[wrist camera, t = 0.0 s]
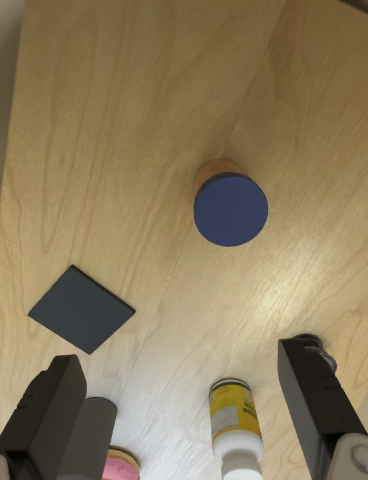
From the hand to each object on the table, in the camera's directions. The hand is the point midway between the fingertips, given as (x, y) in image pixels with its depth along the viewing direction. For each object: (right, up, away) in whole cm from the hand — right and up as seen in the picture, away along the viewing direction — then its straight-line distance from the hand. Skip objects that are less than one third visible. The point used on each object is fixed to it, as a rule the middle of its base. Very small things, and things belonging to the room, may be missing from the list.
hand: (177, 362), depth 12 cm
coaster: (-13, -4, +27) cm, 30 cm away
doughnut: (-13, -35, +41) cm, 55 cm away
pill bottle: (+7, -18, +33) cm, 38 cm away
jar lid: (+4, +7, +12) cm, 14 cm away
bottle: (-13, -22, +35) cm, 43 cm away
